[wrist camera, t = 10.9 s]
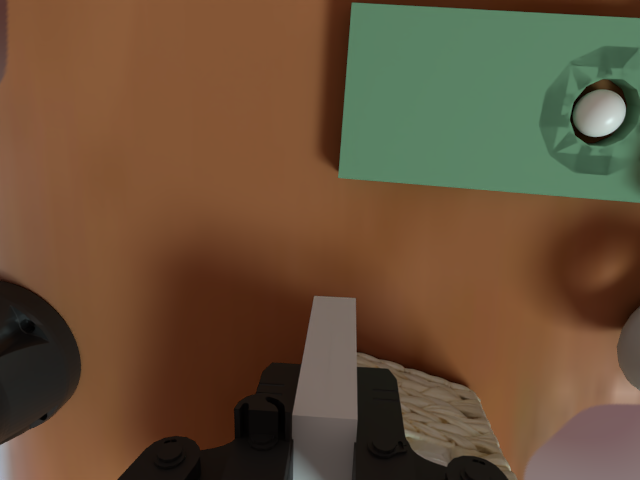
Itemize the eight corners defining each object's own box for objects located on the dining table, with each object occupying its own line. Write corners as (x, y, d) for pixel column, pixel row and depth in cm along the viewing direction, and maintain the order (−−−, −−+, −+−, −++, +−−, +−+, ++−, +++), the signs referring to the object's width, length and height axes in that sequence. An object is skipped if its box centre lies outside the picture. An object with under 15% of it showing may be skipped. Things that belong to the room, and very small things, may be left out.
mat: (339, 173, 38) (338, 177, 36) (352, 7, 34) (351, 2, 32) (655, 198, 36) (671, 205, 34) (705, 26, 32) (726, 23, 30)
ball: (616, 144, 32) (621, 133, 34) (629, 95, 31) (633, 87, 33) (564, 138, 34) (572, 129, 36) (574, 91, 32) (581, 84, 35)
